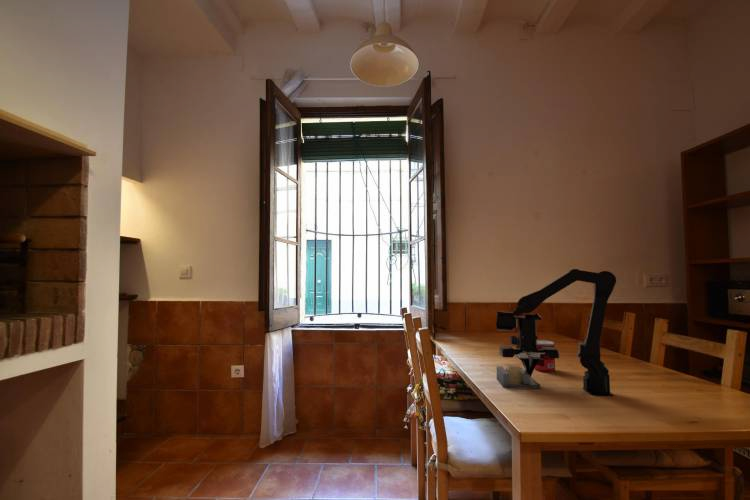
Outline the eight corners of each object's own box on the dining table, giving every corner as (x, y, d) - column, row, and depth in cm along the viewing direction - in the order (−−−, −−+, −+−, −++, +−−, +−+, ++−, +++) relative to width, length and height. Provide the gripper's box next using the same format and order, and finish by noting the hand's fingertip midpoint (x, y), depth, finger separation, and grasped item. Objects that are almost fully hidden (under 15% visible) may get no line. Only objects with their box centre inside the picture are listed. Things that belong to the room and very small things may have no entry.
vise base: (530, 380, 131) (530, 367, 131) (540, 388, 121) (540, 374, 121) (496, 379, 132) (496, 366, 132) (503, 387, 122) (503, 373, 122)
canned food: (556, 369, 146) (555, 341, 147) (554, 373, 139) (553, 344, 140) (535, 366, 150) (535, 339, 151) (532, 370, 143) (531, 342, 144)
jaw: (529, 375, 131) (529, 367, 131) (539, 384, 121) (538, 375, 121) (515, 375, 131) (515, 366, 132) (523, 383, 122) (523, 374, 122)
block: (517, 378, 128) (517, 364, 129) (521, 381, 124) (520, 367, 125) (506, 378, 129) (505, 363, 129) (509, 381, 125) (508, 366, 125)
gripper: (546, 328, 134) (548, 371, 133) (495, 328, 136) (496, 370, 135) (558, 333, 123) (560, 380, 122) (502, 333, 125) (503, 379, 124)
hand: (529, 377), depth 126 cm, fingers closed
